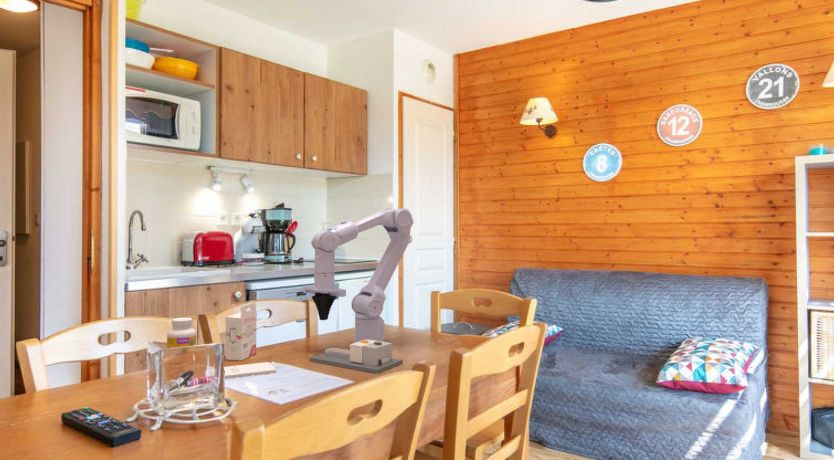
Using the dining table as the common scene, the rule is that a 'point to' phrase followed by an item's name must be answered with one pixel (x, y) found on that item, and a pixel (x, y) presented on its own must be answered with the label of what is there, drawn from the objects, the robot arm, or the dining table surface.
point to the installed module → (376, 352)
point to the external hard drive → (248, 370)
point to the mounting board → (354, 363)
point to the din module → (358, 350)
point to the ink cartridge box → (241, 333)
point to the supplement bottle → (181, 333)
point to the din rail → (346, 355)
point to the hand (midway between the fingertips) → (323, 319)
